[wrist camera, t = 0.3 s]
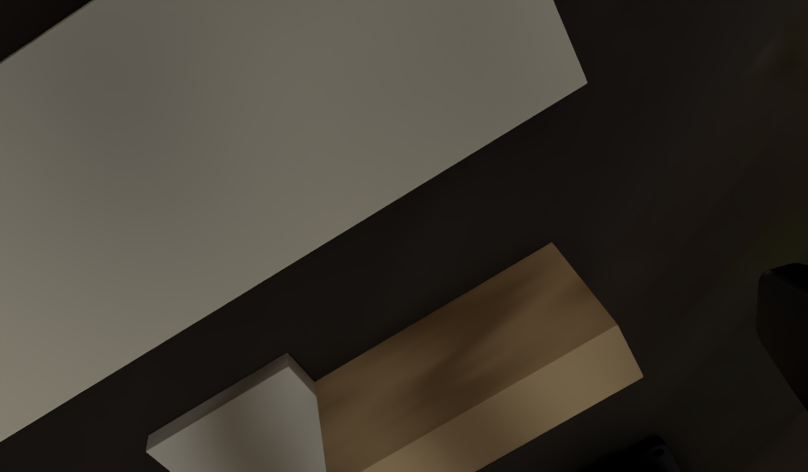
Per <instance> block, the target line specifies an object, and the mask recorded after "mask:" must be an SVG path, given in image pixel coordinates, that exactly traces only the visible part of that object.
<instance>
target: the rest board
mask: <svg viewBox="0 0 808 472" xmlns="http://www.w3.org/2000/svg"><path fill="white" fill-rule="evenodd" d="M587 83H588V82H587V80H586V78H585V75H584V73H583V71H582V68H581V66H580V63H579V61H578V59H577V56H576V54H575V51H574V49H573V47H572V44H571V42H570V40H569V37H568V35H567V32H566V30H565V28H564V25H563V23H562V20H561V18H560V16H559V13H558V11H557V9H556V6H555V4H554V1H553V0H92V1H90V2H89V3H87V4H86V5H84V6H83V7H81V8H80V9H78V10H77V11H75V12H74V13H72V14H71V15H69V16H68V17H66V18H65V19H63V20H62V21H60V22H59V23H57V24H56V25H54V26H53V27H52V28H50V29H49V30H47V31H46V32H44V33H43V34H41V35H40V36H38V37H37V38H35V39H34V40H32V41H31V42H29V43H28V44H26V45H25V46H23V47H22V48H20V49H19V50H17V51H16V52H14V53H13V54H11V55H10V56H8V57H7V58H5V59H4V60H3V61H1V62H0V442H1V441H2V440H4V439H6V438H7V437H9V436H10V435H12V434H14V433H15V432H17V431H19V430H20V429H22V428H24V427H25V426H27V425H28V424H30V423H32V422H33V421H35V420H37V419H38V418H40V417H42V416H43V415H45V414H46V413H48V412H50V411H51V410H53V409H55V408H56V407H58V406H60V405H61V404H63V403H64V402H66V401H68V400H69V399H71V398H73V397H74V396H76V395H78V394H79V393H81V392H82V391H84V390H86V389H87V388H89V387H91V386H92V385H94V384H96V383H97V382H99V381H100V380H102V379H104V378H105V377H107V376H109V375H110V374H112V373H114V372H115V371H117V370H118V369H120V368H122V367H123V366H125V365H127V364H128V363H130V362H132V361H133V360H135V359H136V358H138V357H140V356H141V355H143V354H145V353H146V352H148V351H150V350H151V349H153V348H154V347H156V346H158V345H159V344H161V343H163V342H164V341H166V340H168V339H169V338H171V337H172V336H174V335H176V334H177V333H179V332H181V331H182V330H184V329H186V328H187V327H189V326H190V325H192V324H194V323H195V322H197V321H199V320H200V319H202V318H204V317H205V316H207V315H208V314H210V313H212V312H213V311H215V310H217V309H218V308H220V307H222V306H223V305H225V304H227V303H228V302H230V301H231V300H233V299H235V298H236V297H238V296H240V295H241V294H243V293H245V292H246V291H248V290H249V289H251V288H253V287H254V286H256V285H258V284H259V283H261V282H263V281H264V280H266V279H267V278H269V277H271V276H272V275H274V274H276V273H277V272H279V271H281V270H282V269H284V268H285V267H287V266H289V265H290V264H292V263H294V262H295V261H297V260H299V259H300V258H302V257H303V256H305V255H307V254H308V253H310V252H312V251H313V250H315V249H317V248H318V247H320V246H321V245H323V244H325V243H326V242H328V241H330V240H331V239H333V238H335V237H336V236H338V235H339V234H341V233H343V232H344V231H346V230H348V229H349V228H351V227H353V226H354V225H356V224H357V223H359V222H361V221H362V220H364V219H366V218H367V217H369V216H371V215H372V214H374V213H375V212H377V211H379V210H380V209H382V208H384V207H385V206H387V205H389V204H390V203H392V202H393V201H395V200H397V199H398V198H400V197H402V196H403V195H405V194H407V193H408V192H410V191H411V190H413V189H415V188H416V187H418V186H420V185H421V184H423V183H425V182H426V181H428V180H429V179H431V178H433V177H434V176H436V175H438V174H439V173H441V172H443V171H444V170H446V169H447V168H449V167H451V166H452V165H454V164H456V163H457V162H459V161H461V160H462V159H464V158H465V157H467V156H469V155H470V154H472V153H474V152H475V151H477V150H479V149H480V148H482V147H484V146H485V145H487V144H488V143H490V142H492V141H493V140H495V139H497V138H498V137H500V136H502V135H503V134H505V133H506V132H508V131H510V130H511V129H513V128H515V127H516V126H518V125H520V124H521V123H523V122H524V121H526V120H528V119H529V118H531V117H533V116H534V115H536V114H538V113H539V112H541V111H542V110H544V109H546V108H547V107H549V106H551V105H552V104H554V103H556V102H557V101H559V100H560V99H562V98H564V97H565V96H567V95H569V94H570V93H572V92H574V91H575V90H577V89H578V88H580V87H582V86H583V85H585V84H587Z"/></svg>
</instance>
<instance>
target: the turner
mask: <svg viewBox="0 0 808 472" xmlns="http://www.w3.org/2000/svg"><path fill="white" fill-rule="evenodd" d="M642 377H643V375H642V373H641V371H640V369H639V367H638V365H637V363H636V361H635V359H634V357H633V355H632V353H631V351H630V349H629V347H628V345H627V343H626V341H625V339H624V337H623V335H622V333H621V331H620V329H619V327H618V325H617V324H616V322H615V321H614V320H613V319H612V317H611V316H610V315H609V313H608V312H607V311H606V310H605V308H604V307H603V306H602V305H601V303H600V302H599V301H598V300H597V298H596V297H595V296H594V295H593V293H592V292H591V291H590V290H589V288H588V287H587V286H586V284H585V283H584V282H583V281H582V279H581V278H580V277H579V276H578V274H577V273H576V272H575V271H574V269H573V268H572V267H571V266H570V264H569V263H568V262H567V261H566V259H565V258H564V257H563V256H562V254H561V253H560V252H559V250H558V249H557V248H556V247H555V245H554V244H553V243H552V242H551V243H550V244H548V245H546V246H545V247H543V248H541V249H540V250H538V251H536V252H534V253H533V254H531V255H529V256H528V257H526V258H524V259H523V260H521V261H519V262H518V263H516V264H514V265H512V266H511V267H509V268H507V269H506V270H504V271H502V272H501V273H499V274H497V275H495V276H494V277H492V278H490V279H489V280H487V281H485V282H484V283H482V284H480V285H479V286H477V287H475V288H473V289H472V290H470V291H468V292H467V293H465V294H463V295H462V296H460V297H458V298H457V299H455V300H453V301H451V302H450V303H448V304H446V305H445V306H443V307H441V308H440V309H438V310H436V311H434V312H433V313H431V314H429V315H428V316H426V317H424V318H423V319H421V320H419V321H418V322H416V323H414V324H412V325H411V326H409V327H407V328H406V329H404V330H402V331H401V332H399V333H397V334H395V335H394V336H392V337H390V338H389V339H387V340H385V341H384V342H382V343H380V344H379V345H377V346H375V347H373V348H372V349H370V350H368V351H367V352H365V353H363V354H362V355H360V356H358V357H357V358H355V359H353V360H351V361H350V362H348V363H346V364H345V365H343V366H341V367H340V368H338V369H336V370H334V371H333V372H331V373H329V374H328V375H326V376H324V377H323V378H321V379H319V380H318V381H316V382H314V381H313V380H312V379H311V378H310V377H309V376H308V375H307V374H306V372H305V371H304V370H303V369H302V368H301V367H300V366H299V365H298V364H297V363H296V362H295V360H294V359H293V358H292V357H291V356H290V355H289V354H288V353H286V354H284V355H282V356H281V357H279V358H277V359H276V360H274V361H272V362H271V363H269V364H267V365H266V366H264V367H262V368H261V369H259V370H257V371H256V372H254V373H252V374H251V375H249V376H247V377H246V378H244V379H242V380H241V381H239V382H237V383H236V384H234V385H232V386H231V387H229V388H227V389H225V390H224V391H222V392H220V393H219V394H217V395H215V396H214V397H212V398H210V399H209V400H207V401H205V402H204V403H202V404H200V405H199V406H197V407H195V408H194V409H192V410H190V411H189V412H187V413H185V414H184V415H182V416H180V417H179V418H177V419H175V420H174V421H172V422H170V423H169V424H167V425H165V426H164V427H162V428H160V429H159V430H157V431H155V432H154V433H152V434H150V435H149V436H148V442H147V448H146V452H147V453H148V454H150V455H151V456H152V457H153V458H155V459H156V460H157V461H158V462H160V463H161V464H162V465H163V466H164V467H166V468H167V469H168V470H169V471H171V472H475V471H477V470H479V469H481V468H482V467H484V466H486V465H488V464H489V463H491V462H493V461H495V460H497V459H498V458H500V457H502V456H504V455H505V454H507V453H509V452H511V451H513V450H514V449H516V448H518V447H520V446H521V445H523V444H525V443H527V442H529V441H530V440H532V439H534V438H536V437H537V436H539V435H541V434H543V433H545V432H546V431H548V430H550V429H552V428H553V427H555V426H557V425H559V424H561V423H562V422H564V421H566V420H568V419H569V418H571V417H573V416H575V415H576V414H578V413H580V412H582V411H584V410H585V409H587V408H589V407H591V406H592V405H594V404H596V403H598V402H600V401H601V400H603V399H605V398H607V397H608V396H610V395H612V394H614V393H616V392H617V391H619V390H621V389H623V388H624V387H626V386H628V385H630V384H632V383H633V382H635V381H637V380H639V379H640V378H642Z"/></svg>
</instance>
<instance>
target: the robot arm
mask: <svg viewBox="0 0 808 472" xmlns="http://www.w3.org/2000/svg"><path fill="white" fill-rule="evenodd" d="M755 329H756V334H757V337H758V339H759V341H760V343H761V345H762V347H763V348H764V350H765V351H766V352H767V354H768V355H769V357H770V358H771V360H772V361H773V362H774V364H775V365H776V367H777V368H778V370H779V371H780V373H781V374H782V375H783V377H784V378H785V380H786V381H787V383H788V384H789V385H790V387H791V388H792V390H793V391H794V393H795V394H796V396H797V397H798V398H799V400H800V401H801V403H802V404H803V406H804V407H805V408H806V410H807V411H808V265H804V264H800V263H792V264H788V265H784V266H780V267H777V268H773V269H769V270H767V271H765V272H764V273H763V274H762V275H761V277H760V279H759V285H758V296H757V306H756V317H755ZM593 472H681V470H680V468H679V467H678V465H677V463H676V461H675V459H674V457H673V455H672V453H671V451H670V449H669V447H668V446H667V444H666V443H665V442H664V440H663V439H661V438H654V439H652V440H650V441H648V442H646V443H644V444H642V445H640V446H639V447H637V448H635V449H633V450H631V451H630V452H628V453H626V454H624V455H622V456H621V457H619V458H617V459H615V460H613V461H611V462H610V463H608V464H606V465H604V466H602V467H601V468H599V469H597V470H595V471H593Z"/></svg>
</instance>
